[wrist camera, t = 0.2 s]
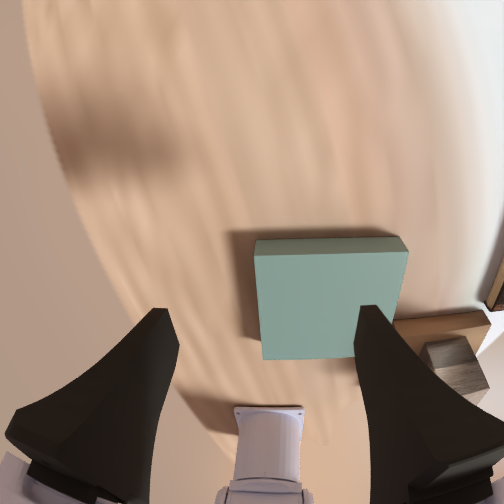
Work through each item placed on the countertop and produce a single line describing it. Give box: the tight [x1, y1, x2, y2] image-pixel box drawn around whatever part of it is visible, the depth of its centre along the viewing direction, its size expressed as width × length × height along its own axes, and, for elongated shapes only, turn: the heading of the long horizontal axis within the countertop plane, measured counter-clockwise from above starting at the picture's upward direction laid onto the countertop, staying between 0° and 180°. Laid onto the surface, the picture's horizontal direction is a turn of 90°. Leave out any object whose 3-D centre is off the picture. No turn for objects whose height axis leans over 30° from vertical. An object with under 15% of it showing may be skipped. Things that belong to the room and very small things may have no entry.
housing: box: [419, 336, 490, 406], centre depth 22 cm, size 8×4×6 cm, turn 4°
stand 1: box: [254, 237, 409, 360], centre depth 22 cm, size 10×10×2 cm
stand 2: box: [392, 310, 491, 356], centre depth 25 cm, size 10×10×2 cm
